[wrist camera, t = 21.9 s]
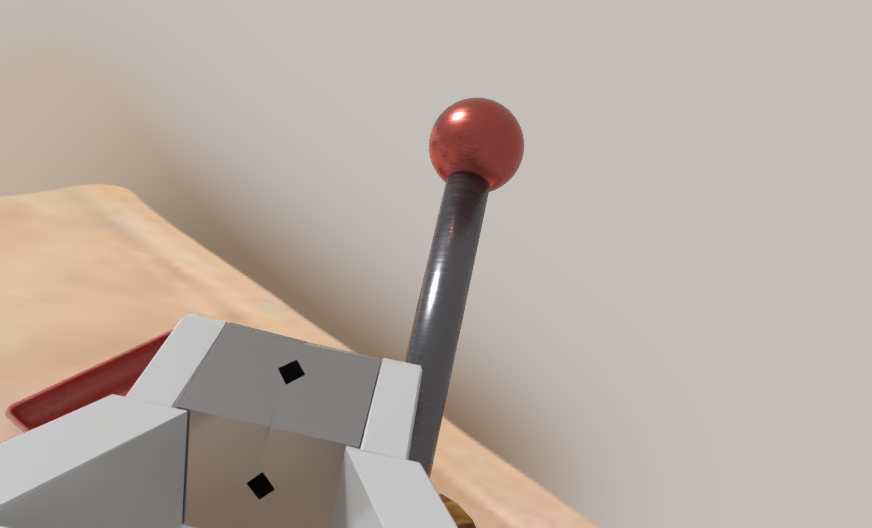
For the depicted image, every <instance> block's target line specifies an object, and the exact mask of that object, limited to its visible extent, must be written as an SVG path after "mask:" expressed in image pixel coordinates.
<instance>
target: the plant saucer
mask: <svg viewBox="0 0 872 528" xmlns="http://www.w3.org/2000/svg"><path fill="white" fill-rule="evenodd" d="M172 331H173V329H172V330H170V331H168V332H166V333H164V334H162V335H160V336H157V337H155V338H153V339H151V340H149V341H147V342H145V343H143V344H140V345H138V346H136V347H134V348H131V349H130V350H128V351H126V352H123V353H121V354H119V355H117V356H114V357H112V358H110V359H108V360H107V361H104V362H102V363H99V364H97V365H95V366H93V367H91V368H89V369H87V370H85V371H83V372H81V373H78V374H76V375H74V376H72V377H70V378H68V379H66V380H63V381H61V382H59V383H57V384H55V385H53V386H51V387H48V388H46V389H44V390H42V391H40V392H38V393H36V394H33V395H31V396H29V397H27V398H25V399H23V400H21V401H18V402H16V403H14V404H12V405H11V406H9V407H8V409H7V411H6V413H5V414H6V416H7V417H8V418H9V419H10V420H11V421H12V422H13V423H14V424H16V425H17V426H18V427H19V428H20V429H21V430H22V431H23V432H24V433H25V432H28V431H30V430H32V429H34V428H37V427H39V426H41V425H44V424H46V423H48V422H50V421H53V420H55V419H57V418H59V417H62V416H64V415H66V414H69V413H71V412H73V411H75V410H78V409H80V408H82V407H85V406H87V405H89V404H91V403H94V402H96V401H98V400H101V399H103V398H105V397H107V396H110V395H112V394H114V395H119V396H124V397H125V396H126V395H127V394H128V392H129V391H130V389H131V388H132V387H133V385H134V384H135V383H136V381H137V380H138V378H139V377H140V376H141V374H142V373H143V371H144V370H145V369H146V367H147V366H148V364H149V363H150V362H151V360H152V359H153V357H154V356H155V355H156V353H157V352H158V350H159V349H160V348H161V346H162V345H163V343H164V342H165V341H166V339H167V338H168V336H169V335H170V334H171V332H172Z"/></svg>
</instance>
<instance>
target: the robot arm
mask: <svg viewBox="0 0 872 528" xmlns="http://www.w3.org/2000/svg"><path fill="white" fill-rule="evenodd" d="M381 360H382V359H380V358H376V357H371V356H367V355H362V354H358V353H353V352H349V351H345V350H340V349H336V348H331V347H327V346H322V345H318V344H313V343H309V342H306V341H302V340H298V339H294V338H290V337H286V336H282V335H278V334H274V333H270V332H266V331H262V330H258V329H254V328H250V327H246V326H242V325H238V324H234V323H227V322H225V321H220V320H216V319H212V318H208V317H204V316H200V315H196V314H192V313H190V314H188V315H187V316H185V317H183V318H182V319H181V320H180V321H179V323H178V324H177V325H176V327H175V328H174V329H173V331H172V332H171V334H170V335H169V336H168V338H167V339H166V341H165V342H164V343H163V345H162V346H161V348H160V349H159V350H158V352H157V353H156V355H155V356H154V357H153V359H152V360H151V362H150V363H149V364H148V366H147V367H146V369H145V370H144V371H143V373H142V374H141V376H140V377H139V378H138V380H137V381H136V383H135V384H134V385H133V387H132V388H131V389H130V391H129V392H128V394H127V395H126V396H125V397H124V396H119V395H114V394H112V395H110V396H107V397H105V398H103V399H101V400H98V401H96V402H94V403H91V404H89V405H87V406H85V407H82V408H80V409H78V410H75V411H73V412H71V413H69V414H66V415H64V416H62V417H59V418H57V419H55V420H53V421H50V422H48V423H46V424H44V425H41V426H39V427H37V428H34V429H32V430H30V431H28V432H25V433H23V434H21V435H18V436H16V437H14V438H12V439H9V440H7V441H5V442H2V443H0V528H182V525H186V526H191V527H197V528H458V527H457V525H456V523H455V522H454V520H453V518H452V516H451V515H450V513H449V511H448V510H447V508H446V506H445V504H444V503H443V501H442V499H441V498H440V496H439V494H438V492H437V491H436V489H435V487H434V486H433V484H432V482H431V480H430V479H429V477H428V475H427V474H426V472H425V470H424V468H423V467H422V465H421V463H419V462H415V461H410V460H408V458H409V452H410V446H411V439H412V433H413V427H414V421H415V414H416V408H417V402H418V395H419V389H420V383H421V377H422V368H421V365H416V364H411V363H406V362H401V361H396V360H391V359H386V358H383V360H382V363H381ZM380 365H381V366H380ZM379 369H380V371H379ZM378 374H379V375H378ZM377 378H378V379H377Z"/></svg>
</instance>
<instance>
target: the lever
mask: <svg viewBox="0 0 872 528" xmlns="http://www.w3.org/2000/svg"><path fill="white" fill-rule="evenodd" d="M429 141H430V142H429V151H430V158H431V161H432V164H433V166H434V168H435V170H436V172H437V173H438V175H439V176H440V177H441V178H442V179H443V180H444V181H445V182H446V185H445V190H444V194H443V198H442V202H441V207H440V211H439V215H438V219H437V224H436V228H435V233H434V237H433V241H432V245H431V250H430V254H429V258H428V263H427V267H426V271H425V275H424V280H423V284H422V288H421V292H420V297H419V301H418V305H417V309H416V314H415V318H414V322H413V327H412V331H411V335H410V339H409V344H408V349H407V352H406V357H405V361H404V362H406V363H411V364H416V365H421V368H422V377H421V383H420V389H419V395H418V402H417V408H416V414H415V421H414V427H413V433H412V439H411V446H410V452H409V458H408V460H410V461H415V462H419V463H421V465H422V467H423V468H424V470H425V472H426V474H427V475H428V477H429V479H430V475H431V470H432V465H433V460H434V455H435V450H436V446H437V441H438V436H439V431H440V426H441V421H442V416H443V412H444V407H445V402H446V396H447V392H448V387H449V382H450V378H451V373H452V368H453V363H454V358H455V353H456V348H457V343H458V339H459V334H460V329H461V324H462V319H463V314H464V309H465V305H466V299H467V295H468V290H469V285H470V280H471V275H472V270H473V266H474V261H475V256H476V251H477V246H478V241H479V237H480V232H481V227H482V222H483V217H484V212H485V207H486V202H487V198H488V193H489V192H491V191H493V190H496V189H498V188H500V187H501V186H503V185H504V184H505V183H506V182H508V181H509V180H510V179H511V178H512V177H513V176H514V174H515V172H516V171H517V169H518V168H519V166H520V163H521V160H522V157H523V151H524V139H523V134H522V130H521V128H520V125H519V123H518V122H517V120H516V118H515V117H514V115H513V114H512V113H511V112H510V111H509V110H508V109H507V108H505V107H504V106H503V105H501V104H499V103H497V102H495V101H493V100H489V99H485V98H469V99H465V100H461V101H459V102H457V103H455V104H453V105H452V106H450V107H448V108H447V109H446V110H445V111H444V112H443V113H442V114H441V115H440V116H439V118H438V119H437V121H436V122H435V124H434V126H433V129H432V132H431V135H430V140H429Z"/></svg>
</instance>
